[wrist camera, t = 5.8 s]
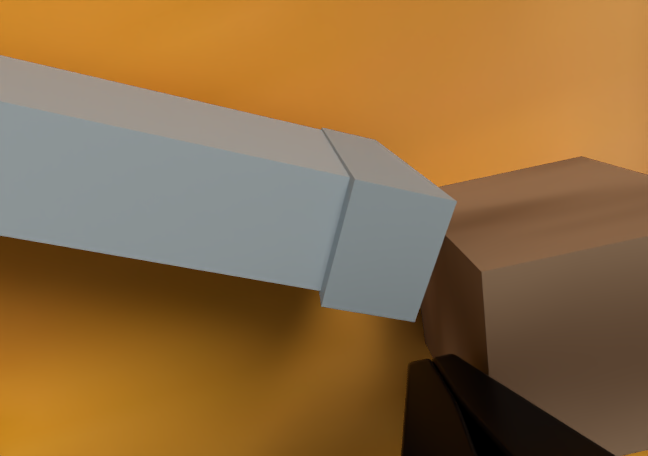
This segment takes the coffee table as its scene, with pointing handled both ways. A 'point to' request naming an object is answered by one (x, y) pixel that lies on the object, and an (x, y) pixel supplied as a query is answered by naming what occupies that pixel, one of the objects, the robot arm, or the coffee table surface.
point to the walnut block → (551, 292)
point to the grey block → (214, 190)
